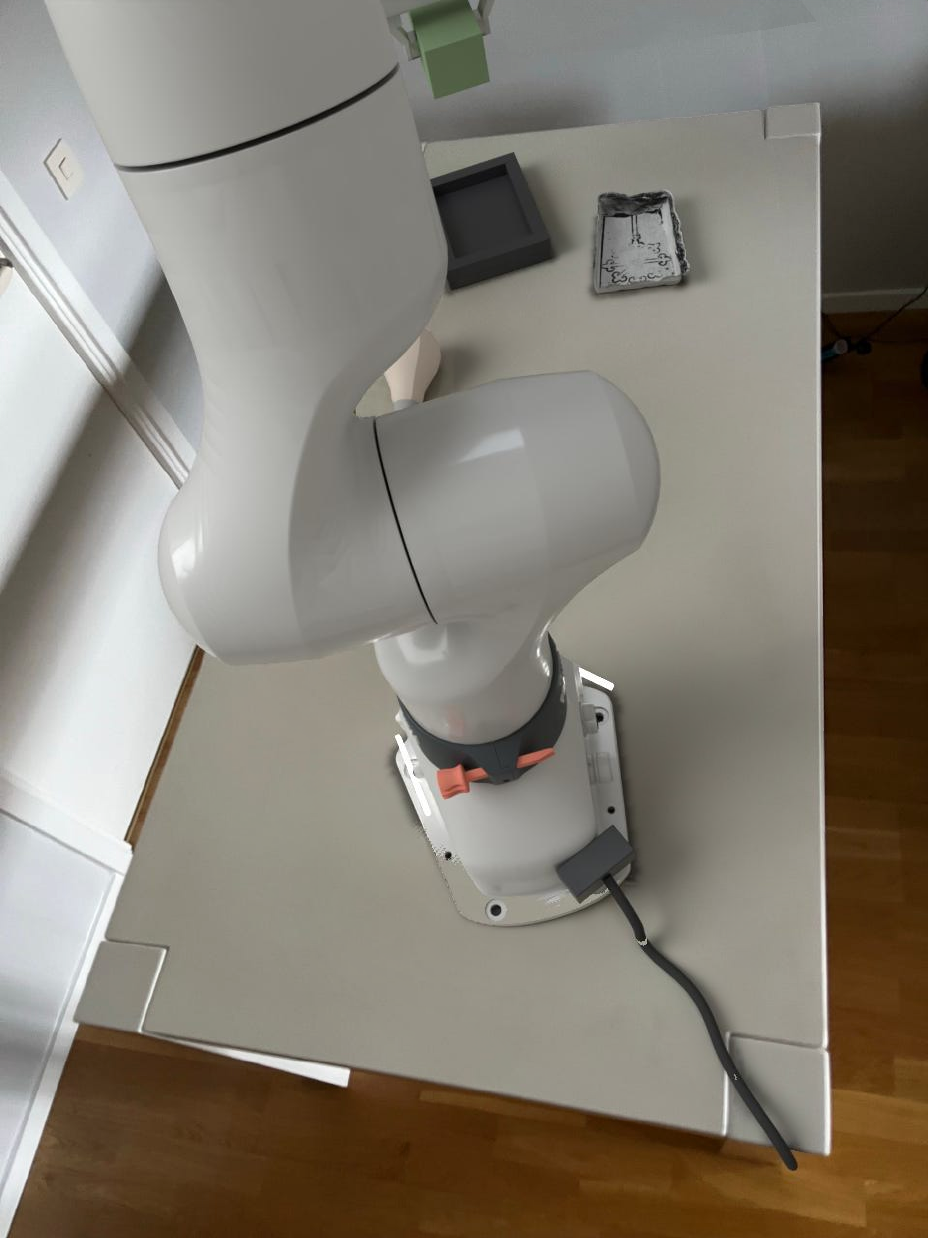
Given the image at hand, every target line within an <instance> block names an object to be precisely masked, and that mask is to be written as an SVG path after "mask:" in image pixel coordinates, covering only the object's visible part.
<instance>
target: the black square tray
mask: <svg viewBox="0 0 928 1238" xmlns="http://www.w3.org/2000/svg"><path fill="white" fill-rule="evenodd" d="M430 181H431V185H432V189H433V193H434V196H435V200H436V204H437V208H438V212H439V215H440V219H441V223H442V227H443V230H444V234H445V238H446V242H447V248H448V267H447V276H446V282H447V285H448V287H449V290H450V291H453V290H456V289H459V288H463V287H465V286H469V285H472V284H475V283H478V282H481V281H484V280H487V279H491V278H493V277H497V276H500V275H503V274H507V273H509V272H510V273H511V272H512V271H516V270H519V269H522V268H526V267H528V266H531V265H535V264H537V263H541V262H543V261H547V260H551V259H553V253H552V252H553V251H552V243H551V237H550V235H549V233H548V230H547V228H546V226H545V223H544V220H543V218H542V216H541V214H540V210H539V209H538V206H537V205H536V202H535V199H534V197H533V195H532V192H531V190H530V187H529V185H528V182H527V180H526V177H525V174H524V173H523V170H522V168H521V165H520V163H519V161H518V158H517V156H516V153H515V152H514V151H511V152H510V153H506V154H503V155H500V156H496V157H494V158H491V159H487V160H485V161H481V162H479V163H475V164H472V165H470V166H466V167H463V168H460V169H457V170H454V171H452V172H451V171H450V172H447V173H444V174H442V175H439V176H435V177H432V178H430Z"/></svg>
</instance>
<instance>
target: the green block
mask: <svg viewBox="0 0 928 1238" xmlns="http://www.w3.org/2000/svg"><path fill="white" fill-rule="evenodd" d="M473 10H474V9H473V8H472V6H471V3H470V1H469V0H442V1H439V2H436V3H433V4H430V5H427V6H424V7H421V8H418V9H415V10H413V11H410V12H407V16H408V21H409V26H410V31H413V30H414V31H415V34H416V36H417V39H418V43H419V47H420V48H419V49H420V52H421V57H420V58H419V60H420V63H421V67H422V69H423V72H424V75H425V77H426V81H427V83H428V86H429V88H430V89H429V90H430V92H431V94H432V98H433V100H435V101H436V100H438V99H441V98H443V97H447V96H450V95H454V94H456V93H460V92H463V91H466V90H469V89H472V88H475V87H479V86H481V85H484V84H487V83H490V82H491V81H490V74H489V67H488V62H487V55H486V49H485V43H484V36H483V35H482V32H481V29H480V27H479V25H478V22H477V20H476V17H475V15H474V13H473Z"/></svg>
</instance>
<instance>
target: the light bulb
mask: <svg viewBox="0 0 928 1238" xmlns="http://www.w3.org/2000/svg"><path fill="white" fill-rule="evenodd" d="M441 360H442V354H441V347H440V345H439V342H438V340H437V339H436V337H435V336H434V334H433V333H432V332H431V331H430V330H428V329H427V328H425V329H424V330H423V332H422V333H421V335H420V336H419V337H418V339H417V340H416V341H415V342H414V344H413V345H412V346H411V347H410V348H409V349H408V350H407V351H406V353H405V354H404V355H403V356H402V357H400V358H399V359H398V360H397V361H396V362H395V363H394V364H393V365H392V366H391V367H390V368H389V369H388V370H387V371H385V372H384V373H383V374H382V375H384V378H385V380H386V382H387V385H388V387H389V389H390V399H391V402H392V403H393V409H392V410H393V411H392V412H394V411H397V410H400V409H403V408H407V407H410V406H413V405H416V404H420V403H423V402H424V398H425V393H426V391H427V389H428V387H429V386H430V384H431V383H432V381H433V380H434V378H435V377H436V376H437V373H438V371H439V367H440V364H441Z"/></svg>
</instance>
